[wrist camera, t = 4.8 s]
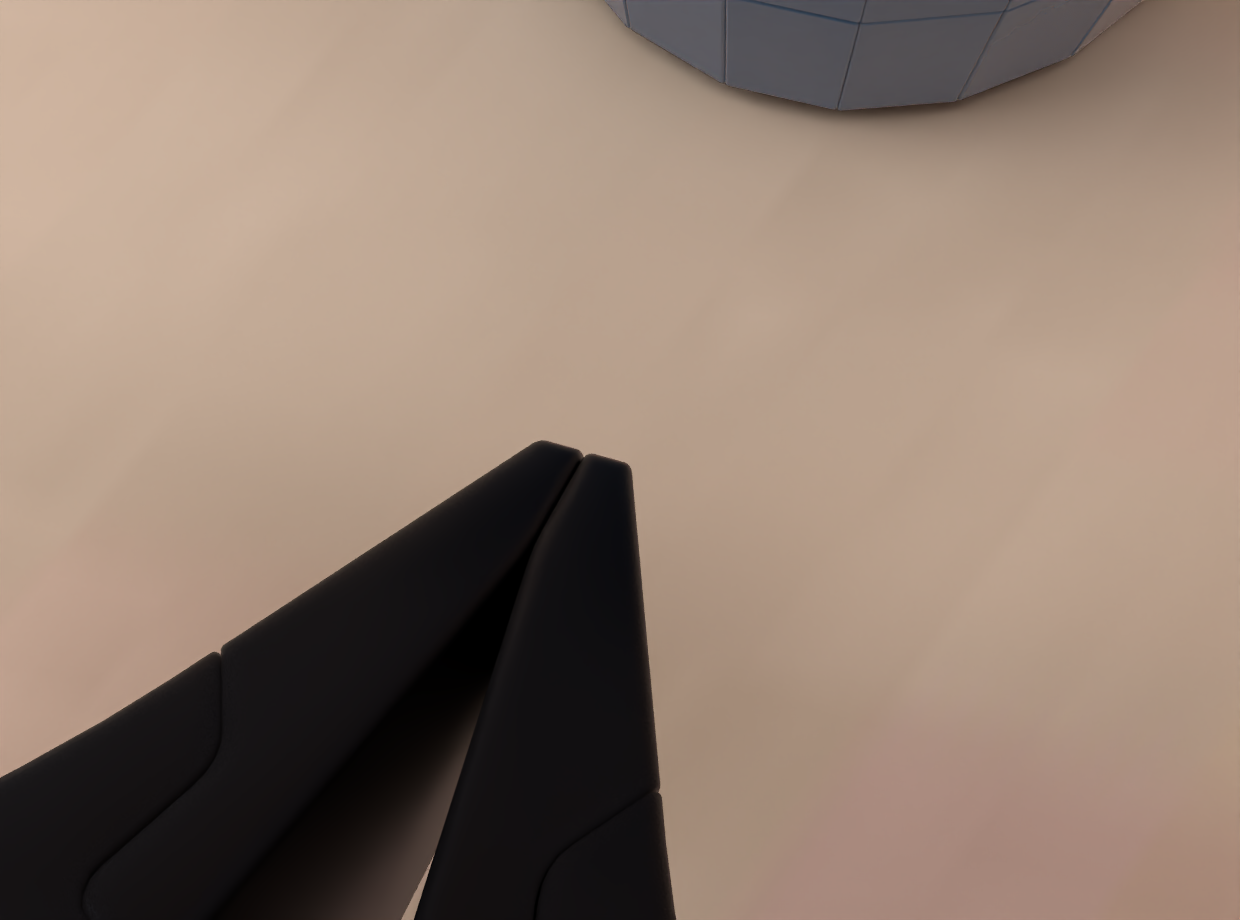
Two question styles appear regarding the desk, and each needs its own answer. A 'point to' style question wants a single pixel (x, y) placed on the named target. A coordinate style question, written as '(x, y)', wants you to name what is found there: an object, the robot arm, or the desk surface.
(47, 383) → the desk surface
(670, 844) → the desk surface
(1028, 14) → the bowl
